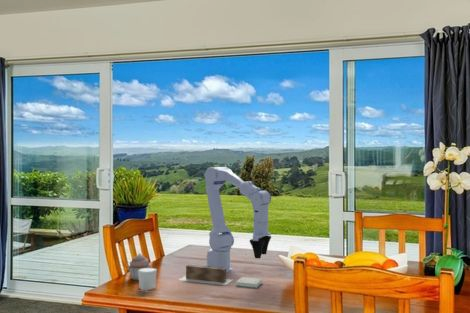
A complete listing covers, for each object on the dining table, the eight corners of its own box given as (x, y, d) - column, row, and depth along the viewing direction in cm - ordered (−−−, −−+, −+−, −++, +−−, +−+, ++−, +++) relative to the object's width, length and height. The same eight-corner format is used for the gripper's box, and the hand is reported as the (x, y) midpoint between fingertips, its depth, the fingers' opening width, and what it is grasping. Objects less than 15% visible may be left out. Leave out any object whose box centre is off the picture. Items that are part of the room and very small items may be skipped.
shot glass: (160, 286, 175) (160, 268, 175) (150, 292, 169) (151, 272, 169) (143, 285, 178) (143, 266, 178) (134, 290, 171) (134, 271, 171)
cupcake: (139, 274, 194) (140, 249, 193) (156, 277, 188) (156, 252, 188) (122, 279, 186) (122, 253, 186) (138, 283, 180) (138, 257, 180)
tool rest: (177, 280, 183) (177, 279, 183) (186, 275, 191) (186, 274, 191) (225, 286, 177) (225, 285, 177) (233, 280, 184) (233, 279, 184)
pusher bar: (186, 278, 185) (186, 266, 185) (188, 277, 188) (188, 264, 188) (223, 282, 180) (224, 269, 180) (226, 281, 182) (226, 268, 182)
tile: (236, 281, 176) (256, 284, 173) (242, 277, 182) (262, 279, 180) (236, 286, 176) (256, 288, 173) (242, 281, 182) (261, 283, 180)
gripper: (265, 224, 177) (265, 260, 177) (275, 219, 191) (275, 253, 191) (247, 223, 179) (247, 259, 180) (258, 218, 193) (258, 251, 193)
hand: (260, 256), depth 185 cm, fingers open, 7 cm apart
